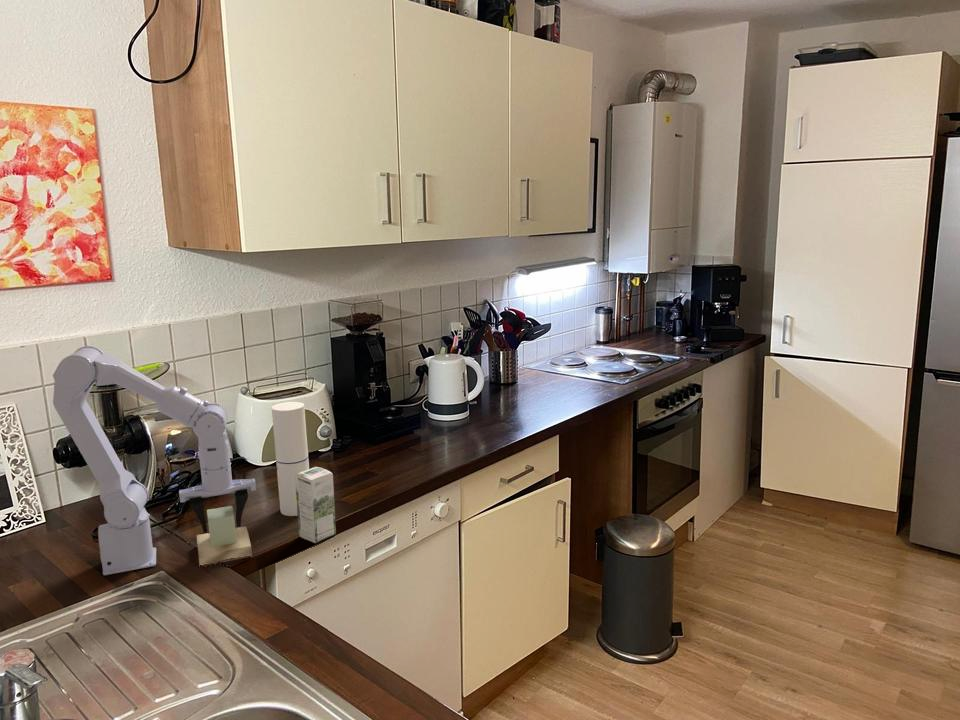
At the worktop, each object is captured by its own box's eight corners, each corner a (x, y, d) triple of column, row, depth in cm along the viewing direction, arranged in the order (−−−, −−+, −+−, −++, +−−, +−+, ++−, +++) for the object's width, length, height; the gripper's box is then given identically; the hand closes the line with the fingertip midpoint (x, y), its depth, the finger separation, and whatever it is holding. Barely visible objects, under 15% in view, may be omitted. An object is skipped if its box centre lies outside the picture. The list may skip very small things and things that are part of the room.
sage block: (210, 547, 151) (207, 520, 149) (209, 536, 155) (206, 509, 154) (236, 542, 153) (234, 515, 151) (234, 531, 157) (232, 505, 156)
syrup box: (319, 527, 164) (315, 465, 161) (337, 534, 161) (333, 471, 157) (298, 537, 160) (293, 473, 157) (316, 544, 156) (311, 479, 153)
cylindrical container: (292, 518, 169) (283, 412, 164) (274, 510, 174) (265, 406, 168) (318, 508, 174) (310, 405, 169) (300, 500, 179) (292, 400, 173)
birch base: (200, 569, 148) (198, 555, 147) (198, 548, 157) (196, 535, 156) (252, 559, 152) (251, 545, 151) (247, 539, 161) (246, 526, 160)
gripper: (250, 453, 156) (256, 514, 159) (176, 464, 151) (183, 526, 154) (254, 464, 150) (260, 527, 153) (176, 476, 145) (184, 541, 148)
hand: (222, 528), depth 153 cm, fingers open, 6 cm apart
